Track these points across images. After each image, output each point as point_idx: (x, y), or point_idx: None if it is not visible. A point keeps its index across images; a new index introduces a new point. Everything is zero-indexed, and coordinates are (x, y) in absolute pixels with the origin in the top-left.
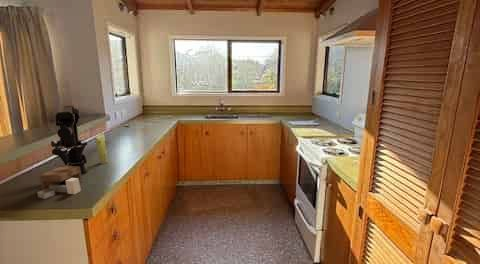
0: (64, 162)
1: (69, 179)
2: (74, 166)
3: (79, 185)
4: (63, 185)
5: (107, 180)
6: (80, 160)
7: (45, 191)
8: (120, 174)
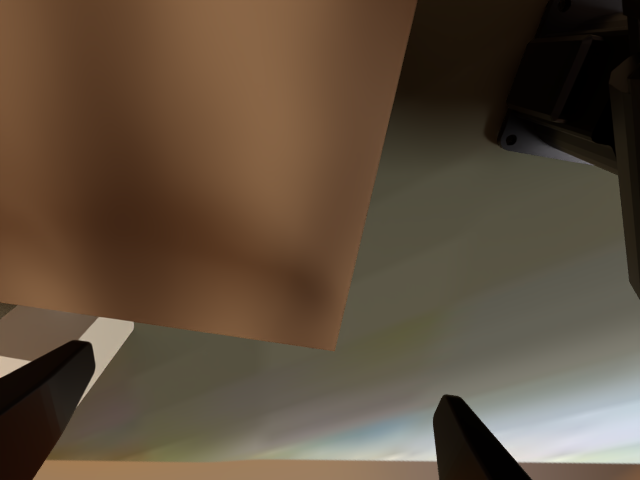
0: (5, 393)
1: (7, 367)
2: (352, 272)
3: (105, 362)
4: None
5: (322, 413)
6: (628, 267)
7: None
8: (431, 448)
